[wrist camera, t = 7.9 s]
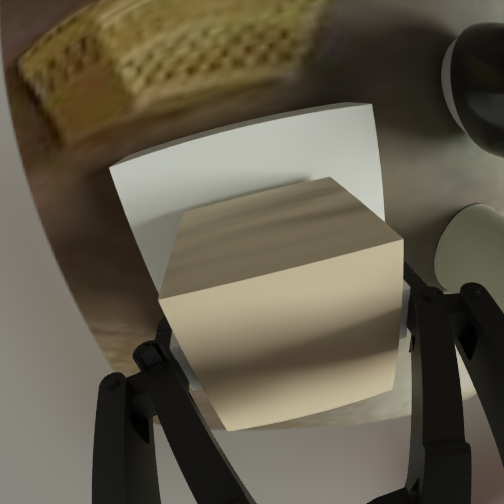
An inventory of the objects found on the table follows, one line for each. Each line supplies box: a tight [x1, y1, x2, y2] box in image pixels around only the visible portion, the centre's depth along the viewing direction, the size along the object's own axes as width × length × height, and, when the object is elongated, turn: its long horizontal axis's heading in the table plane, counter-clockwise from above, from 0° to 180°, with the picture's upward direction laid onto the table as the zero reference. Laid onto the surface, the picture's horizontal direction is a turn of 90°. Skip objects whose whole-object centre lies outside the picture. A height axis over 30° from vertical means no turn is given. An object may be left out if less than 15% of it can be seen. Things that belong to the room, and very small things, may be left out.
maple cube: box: [158, 177, 404, 431], centre depth 15 cm, size 8×8×8 cm
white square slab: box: [109, 102, 385, 294], centre depth 21 cm, size 15×15×4 cm
